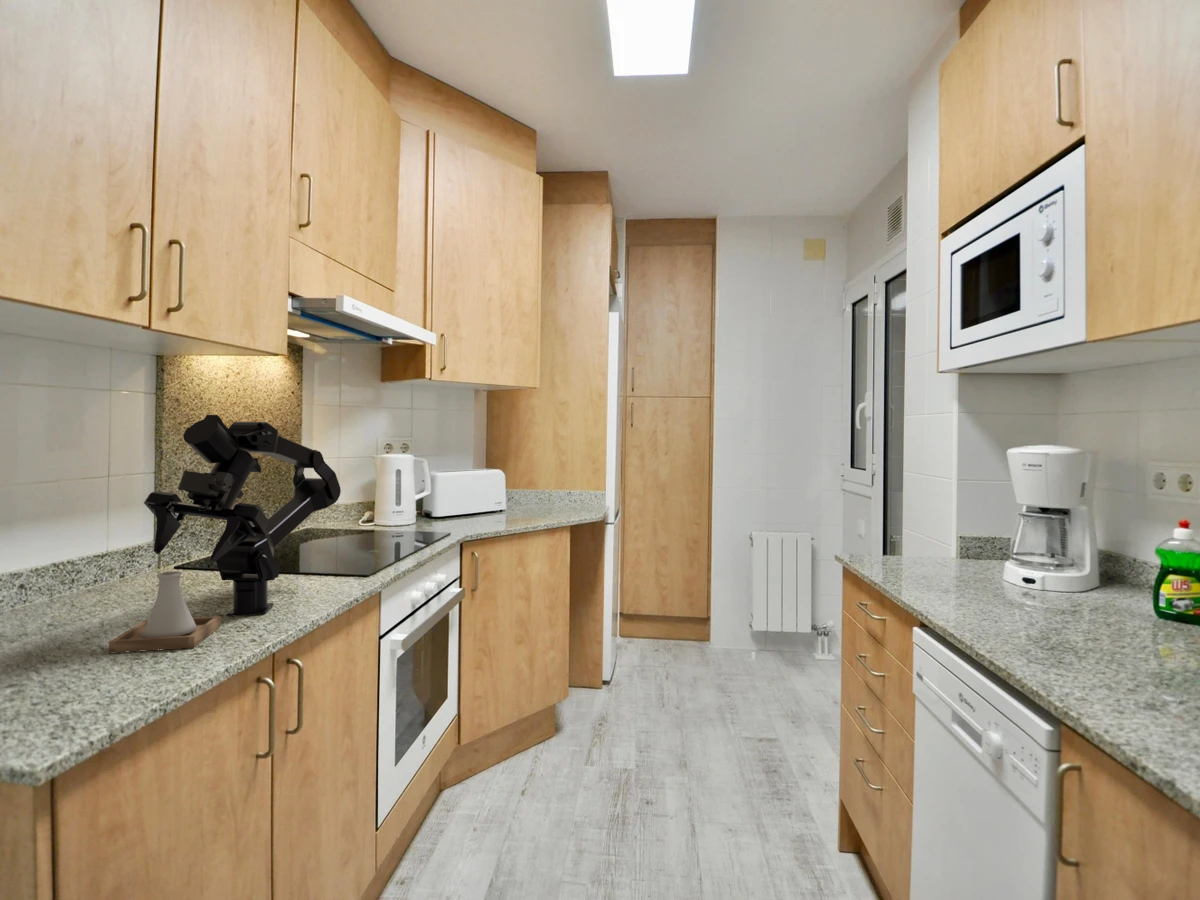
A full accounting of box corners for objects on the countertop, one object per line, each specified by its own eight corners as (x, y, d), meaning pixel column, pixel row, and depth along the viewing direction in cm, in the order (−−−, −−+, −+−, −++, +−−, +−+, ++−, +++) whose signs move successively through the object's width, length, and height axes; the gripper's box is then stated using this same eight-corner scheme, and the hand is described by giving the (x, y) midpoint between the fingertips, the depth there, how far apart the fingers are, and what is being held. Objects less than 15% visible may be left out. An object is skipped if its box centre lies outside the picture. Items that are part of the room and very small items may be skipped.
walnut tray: (144, 630, 108) (144, 620, 108) (220, 626, 110) (220, 616, 110) (109, 653, 96) (109, 641, 96) (194, 648, 99) (194, 636, 99)
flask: (205, 627, 107) (205, 568, 107) (176, 641, 100) (175, 578, 100) (163, 626, 107) (163, 568, 107) (131, 640, 100) (130, 577, 100)
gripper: (154, 444, 107) (101, 524, 97) (265, 460, 107) (222, 541, 98) (182, 480, 116) (135, 557, 106) (284, 495, 116) (247, 572, 107)
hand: (184, 556), depth 104 cm, fingers open, 9 cm apart
